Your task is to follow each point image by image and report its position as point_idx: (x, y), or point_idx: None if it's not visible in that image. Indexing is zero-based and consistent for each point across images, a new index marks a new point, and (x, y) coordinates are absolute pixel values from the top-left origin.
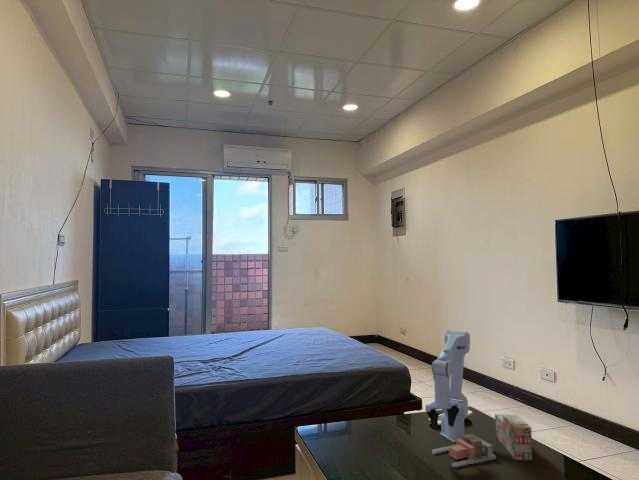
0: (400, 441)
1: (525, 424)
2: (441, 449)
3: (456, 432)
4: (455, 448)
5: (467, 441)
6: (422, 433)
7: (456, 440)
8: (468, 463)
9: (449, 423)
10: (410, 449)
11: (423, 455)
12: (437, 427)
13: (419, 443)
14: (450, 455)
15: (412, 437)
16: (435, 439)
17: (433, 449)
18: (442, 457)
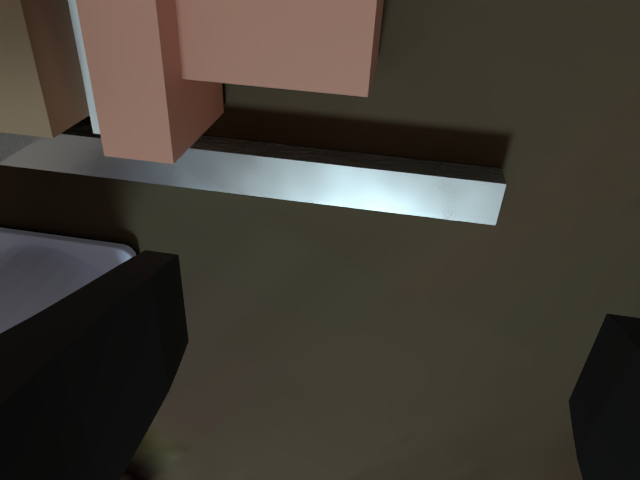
0: (554, 470)
1: None
2: (394, 177)
3: (44, 308)
4: (320, 2)
5: (53, 8)
6: (281, 462)
7: (175, 148)
8: None
9: (166, 354)
10: None
11: (626, 210)
12: (636, 348)
13: (438, 381)
14: (378, 40)
15: (405, 462)
16: (252, 362)
17: (476, 220)
18: (478, 72)
